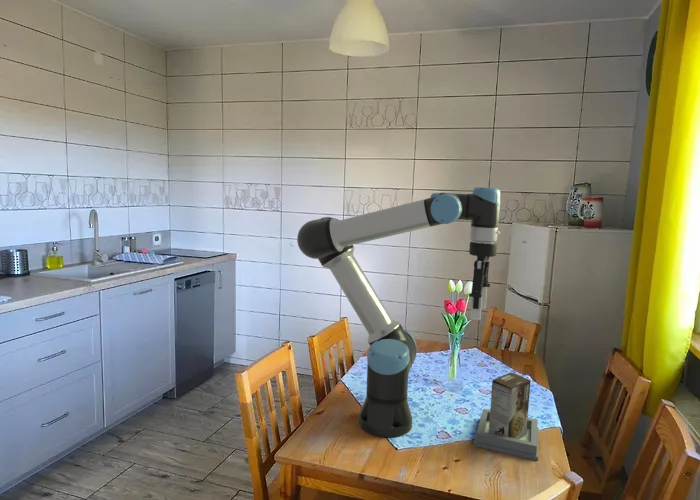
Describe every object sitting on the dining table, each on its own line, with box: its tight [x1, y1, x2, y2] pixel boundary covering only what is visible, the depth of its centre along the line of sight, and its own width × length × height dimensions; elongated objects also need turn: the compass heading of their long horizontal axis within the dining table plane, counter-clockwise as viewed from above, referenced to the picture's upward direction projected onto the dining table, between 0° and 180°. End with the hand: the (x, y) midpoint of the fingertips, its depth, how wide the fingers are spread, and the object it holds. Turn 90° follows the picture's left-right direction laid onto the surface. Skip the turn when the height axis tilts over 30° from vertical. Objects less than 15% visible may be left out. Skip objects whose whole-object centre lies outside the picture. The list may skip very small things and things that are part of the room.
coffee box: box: [489, 372, 531, 439], centre depth 128 cm, size 9×6×16 cm
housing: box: [473, 408, 540, 461], centre depth 129 cm, size 16×16×4 cm
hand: (478, 313), depth 137 cm, fingers open, 13 cm apart
